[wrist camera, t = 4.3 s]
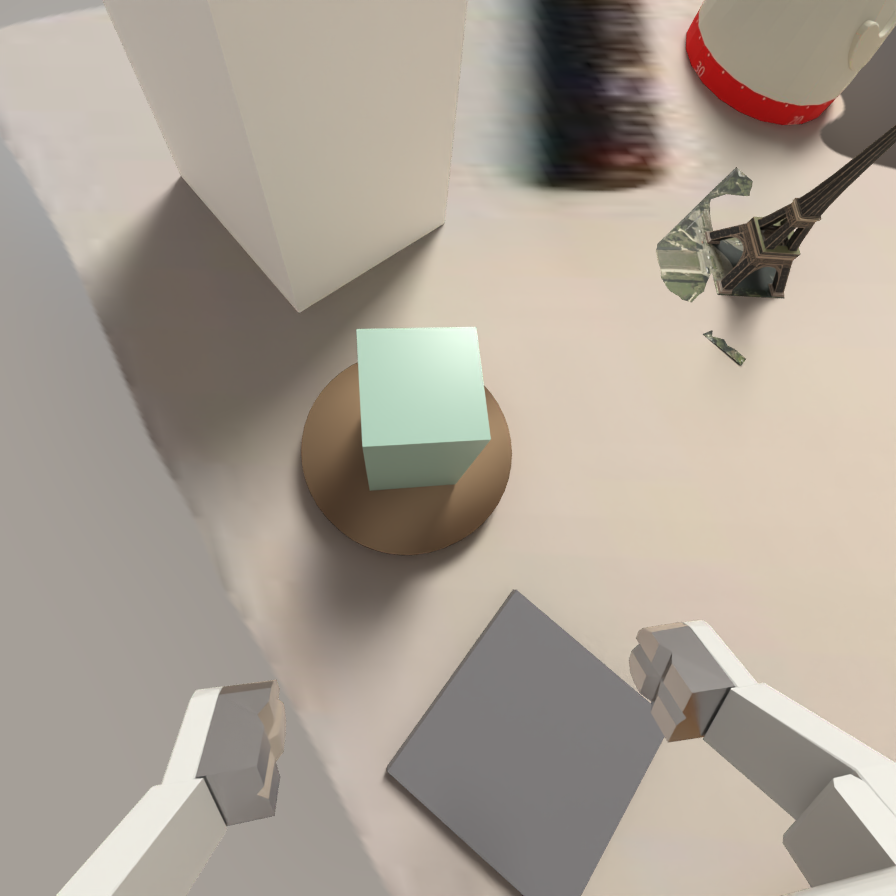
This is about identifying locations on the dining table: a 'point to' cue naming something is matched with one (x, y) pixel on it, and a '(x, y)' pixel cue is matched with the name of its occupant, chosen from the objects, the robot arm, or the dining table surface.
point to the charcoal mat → (531, 752)
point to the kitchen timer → (785, 52)
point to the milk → (305, 122)
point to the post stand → (404, 509)
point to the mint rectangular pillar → (420, 405)
